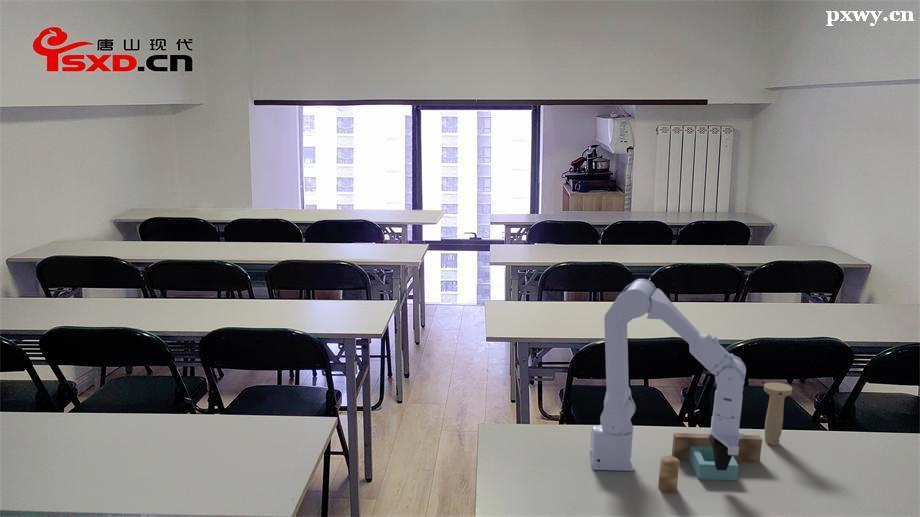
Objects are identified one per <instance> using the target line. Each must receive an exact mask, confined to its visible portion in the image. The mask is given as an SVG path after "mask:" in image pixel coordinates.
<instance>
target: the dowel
mask: <svg viewBox="0 0 920 517" xmlns="http://www.w3.org/2000/svg"><path fill="white" fill-rule="evenodd" d="M659 460H660V462H659V473H658V474H659V475H658V486H657V487H658V488H657V489H658V490H659V491H661V492H662V493H664V494H675V493H677V491H678V485H679V484H678V481H679V469H680V460H678V459H677V458H675V457H673V456H672V455H664V456H662V457H660V459H659Z"/></svg>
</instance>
